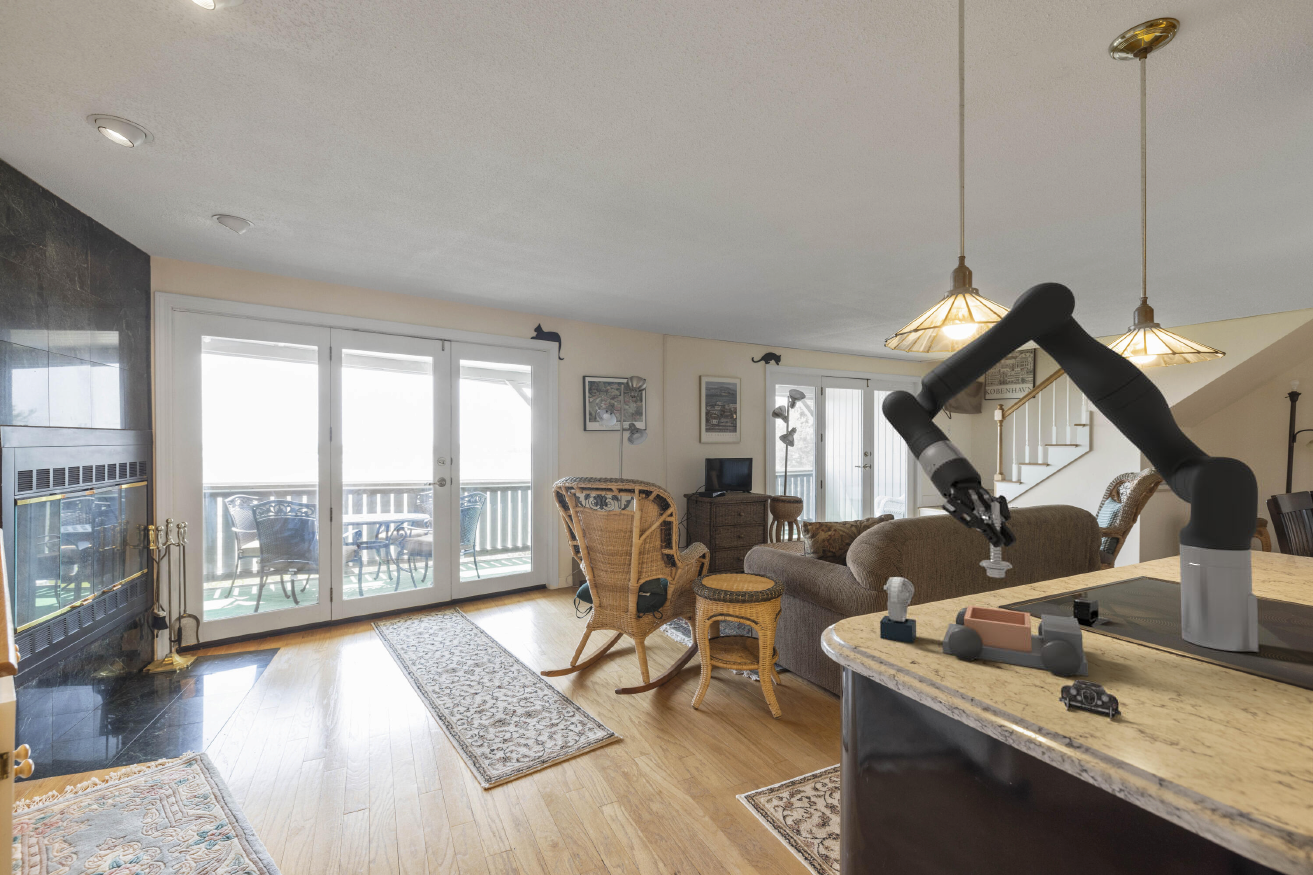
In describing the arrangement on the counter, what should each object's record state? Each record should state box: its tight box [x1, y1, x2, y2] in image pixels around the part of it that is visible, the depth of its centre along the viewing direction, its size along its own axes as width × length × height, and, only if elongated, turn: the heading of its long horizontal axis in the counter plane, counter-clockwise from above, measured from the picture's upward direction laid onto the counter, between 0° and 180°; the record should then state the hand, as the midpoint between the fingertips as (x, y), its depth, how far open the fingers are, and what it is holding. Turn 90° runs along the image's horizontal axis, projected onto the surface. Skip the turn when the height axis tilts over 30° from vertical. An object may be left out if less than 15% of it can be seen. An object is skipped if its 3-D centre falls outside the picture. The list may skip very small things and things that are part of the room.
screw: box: [979, 501, 1013, 579], centre depth 101 cm, size 13×5×5 cm
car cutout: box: [1058, 679, 1122, 722], centre depth 74 cm, size 15×7×4 cm, turn 50°
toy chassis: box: [942, 605, 1089, 677], centre depth 99 cm, size 20×16×6 cm
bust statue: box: [879, 576, 917, 644], centre depth 108 cm, size 6×8×11 cm
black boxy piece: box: [1069, 597, 1113, 628], centre depth 118 cm, size 12×7×5 cm, turn 123°
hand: (1006, 543), depth 99 cm, fingers closed on screw, 2 cm apart
